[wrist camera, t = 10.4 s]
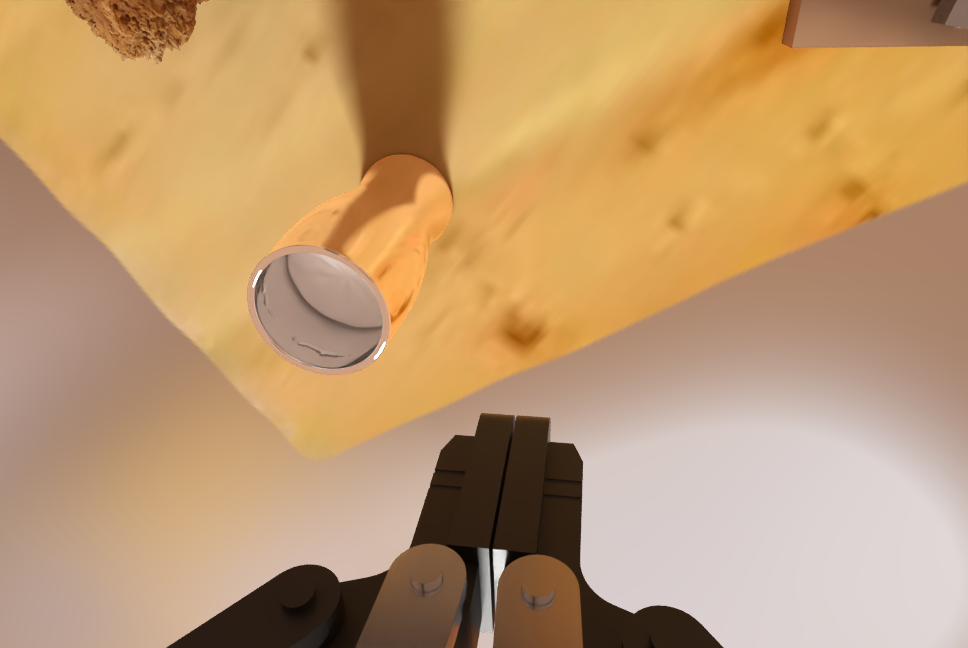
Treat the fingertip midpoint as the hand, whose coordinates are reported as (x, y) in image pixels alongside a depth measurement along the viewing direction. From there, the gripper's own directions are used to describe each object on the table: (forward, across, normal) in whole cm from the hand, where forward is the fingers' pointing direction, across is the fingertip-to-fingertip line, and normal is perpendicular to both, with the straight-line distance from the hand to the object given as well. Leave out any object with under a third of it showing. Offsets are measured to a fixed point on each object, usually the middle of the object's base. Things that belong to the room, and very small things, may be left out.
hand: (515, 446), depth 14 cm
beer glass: (+27, +10, +4) cm, 29 cm away
